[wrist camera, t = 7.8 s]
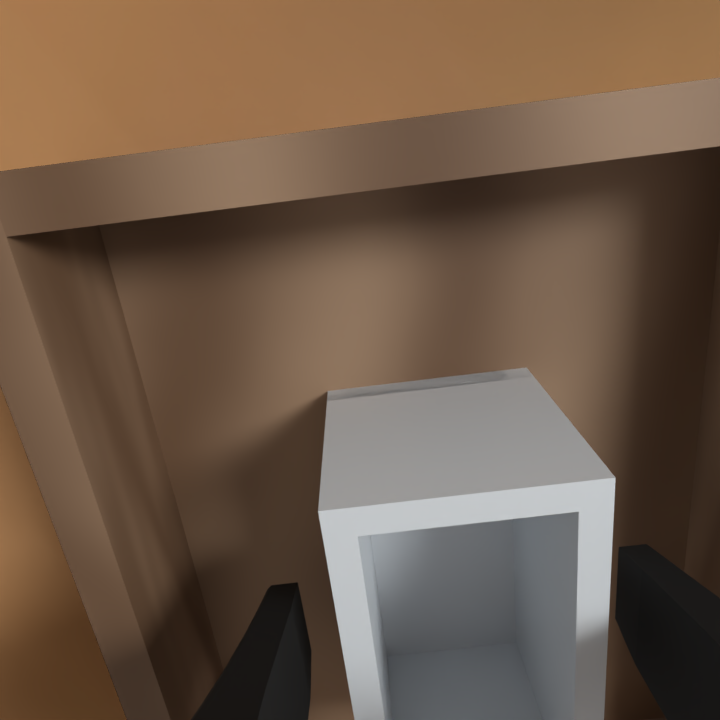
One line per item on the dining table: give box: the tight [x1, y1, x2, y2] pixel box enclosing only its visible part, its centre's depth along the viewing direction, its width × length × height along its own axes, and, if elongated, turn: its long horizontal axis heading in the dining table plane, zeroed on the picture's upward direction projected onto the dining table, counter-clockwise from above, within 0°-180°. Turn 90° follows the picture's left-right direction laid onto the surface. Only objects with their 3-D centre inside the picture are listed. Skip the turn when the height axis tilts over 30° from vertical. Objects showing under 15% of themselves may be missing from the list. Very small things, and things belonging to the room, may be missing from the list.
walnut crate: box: [0, 78, 720, 720], centre depth 14 cm, size 16×20×4 cm
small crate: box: [318, 368, 616, 720], centre depth 13 cm, size 5×9×5 cm, turn 7°
